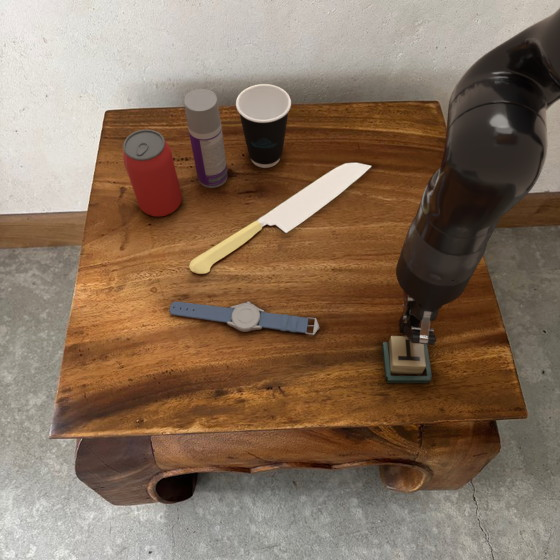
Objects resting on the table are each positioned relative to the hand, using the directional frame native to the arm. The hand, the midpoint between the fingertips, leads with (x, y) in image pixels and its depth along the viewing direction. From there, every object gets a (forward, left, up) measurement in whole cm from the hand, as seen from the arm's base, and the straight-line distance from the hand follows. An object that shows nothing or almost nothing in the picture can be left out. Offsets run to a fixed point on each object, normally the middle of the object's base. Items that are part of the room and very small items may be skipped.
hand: (407, 328), depth 70 cm
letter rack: (+3, +3, -2) cm, 4 cm away
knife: (-1, -25, -2) cm, 25 cm away
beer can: (+12, -39, -2) cm, 41 cm away
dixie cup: (-6, -36, -2) cm, 37 cm away
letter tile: (+3, +2, -2) cm, 4 cm away
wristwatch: (+15, -15, -2) cm, 21 cm away
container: (+3, -38, -2) cm, 38 cm away
